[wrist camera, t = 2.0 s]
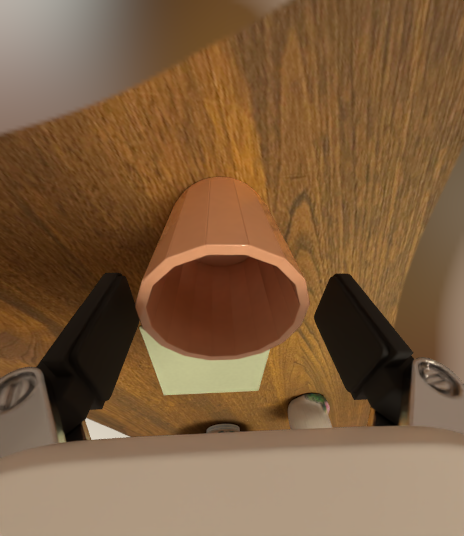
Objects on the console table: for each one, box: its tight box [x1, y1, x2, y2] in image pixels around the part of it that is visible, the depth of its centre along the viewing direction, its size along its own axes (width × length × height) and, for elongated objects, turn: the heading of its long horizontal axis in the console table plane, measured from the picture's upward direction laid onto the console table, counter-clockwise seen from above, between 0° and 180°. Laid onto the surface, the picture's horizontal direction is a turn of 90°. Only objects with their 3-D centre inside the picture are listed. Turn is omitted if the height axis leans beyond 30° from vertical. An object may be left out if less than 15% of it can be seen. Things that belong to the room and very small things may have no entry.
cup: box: [135, 177, 310, 360], centre depth 12 cm, size 7×7×8 cm
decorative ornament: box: [288, 393, 332, 429], centre depth 30 cm, size 9×7×15 cm
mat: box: [139, 326, 270, 395], centre depth 26 cm, size 16×14×1 cm
